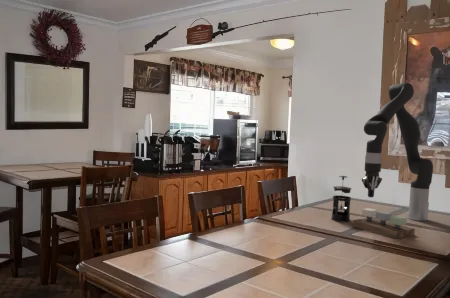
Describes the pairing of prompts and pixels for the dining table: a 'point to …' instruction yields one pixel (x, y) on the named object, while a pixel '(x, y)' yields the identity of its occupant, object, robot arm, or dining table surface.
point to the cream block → (369, 213)
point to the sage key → (398, 221)
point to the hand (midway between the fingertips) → (370, 197)
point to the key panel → (383, 228)
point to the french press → (341, 215)
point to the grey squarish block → (383, 217)
